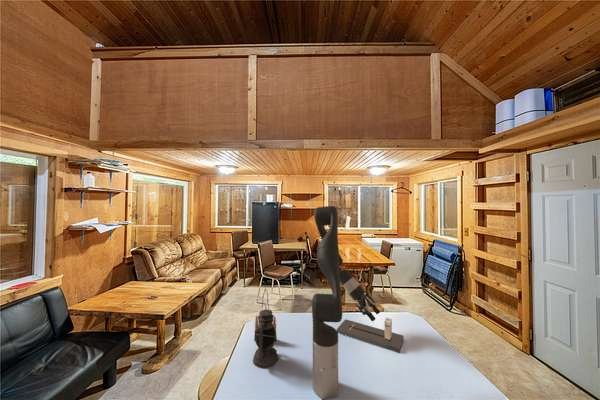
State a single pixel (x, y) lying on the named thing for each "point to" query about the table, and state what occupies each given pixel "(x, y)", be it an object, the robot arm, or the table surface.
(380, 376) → the table surface
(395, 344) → the grey fader track base
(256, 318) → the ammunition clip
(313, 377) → the robot arm
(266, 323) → the lantern
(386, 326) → the fader cap
